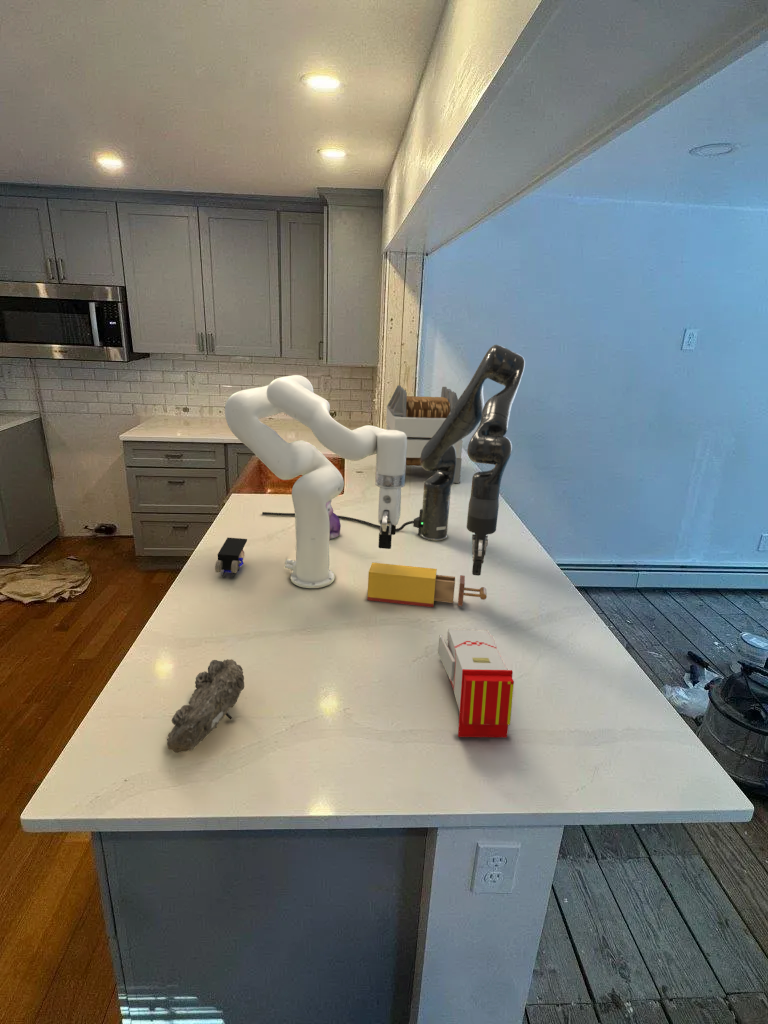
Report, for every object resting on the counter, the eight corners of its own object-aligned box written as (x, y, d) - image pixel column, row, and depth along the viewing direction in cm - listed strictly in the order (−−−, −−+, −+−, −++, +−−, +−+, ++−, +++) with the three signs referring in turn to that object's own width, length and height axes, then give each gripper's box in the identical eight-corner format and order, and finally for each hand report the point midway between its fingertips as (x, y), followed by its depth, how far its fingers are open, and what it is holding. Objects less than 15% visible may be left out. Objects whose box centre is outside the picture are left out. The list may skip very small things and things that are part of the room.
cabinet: (434, 596, 157) (436, 568, 155) (433, 607, 152) (435, 578, 149) (371, 589, 160) (372, 562, 157) (367, 600, 154) (368, 571, 151)
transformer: (382, 463, 289) (386, 382, 275) (445, 464, 293) (451, 384, 279) (390, 482, 257) (394, 392, 243) (460, 483, 261) (468, 394, 247)
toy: (488, 613, 130) (523, 677, 101) (484, 667, 133) (517, 744, 104) (435, 612, 130) (455, 676, 101) (432, 666, 133) (451, 743, 103)
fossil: (192, 660, 117) (244, 628, 112) (224, 691, 120) (276, 661, 115) (142, 746, 98) (202, 712, 93) (182, 779, 101) (242, 748, 96)
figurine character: (238, 584, 162) (249, 557, 175) (236, 562, 158) (247, 536, 172) (215, 584, 161) (227, 556, 175) (212, 561, 158) (225, 535, 171)
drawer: (484, 599, 155) (487, 577, 153) (485, 608, 150) (488, 586, 148) (402, 591, 158) (403, 569, 155) (400, 599, 153) (401, 577, 151)
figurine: (320, 542, 189) (321, 500, 184) (310, 531, 198) (309, 490, 193) (346, 538, 193) (347, 496, 188) (335, 528, 202) (335, 488, 197)
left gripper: (401, 490, 136) (397, 555, 142) (408, 471, 152) (404, 530, 158) (370, 487, 137) (368, 552, 143) (380, 469, 153) (378, 528, 159)
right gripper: (499, 523, 138) (491, 586, 144) (496, 505, 150) (489, 565, 156) (468, 520, 139) (461, 583, 144) (468, 503, 151) (462, 562, 157)
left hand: (387, 540), depth 151 cm, fingers open, 9 cm apart
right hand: (476, 574), depth 150 cm, fingers closed
